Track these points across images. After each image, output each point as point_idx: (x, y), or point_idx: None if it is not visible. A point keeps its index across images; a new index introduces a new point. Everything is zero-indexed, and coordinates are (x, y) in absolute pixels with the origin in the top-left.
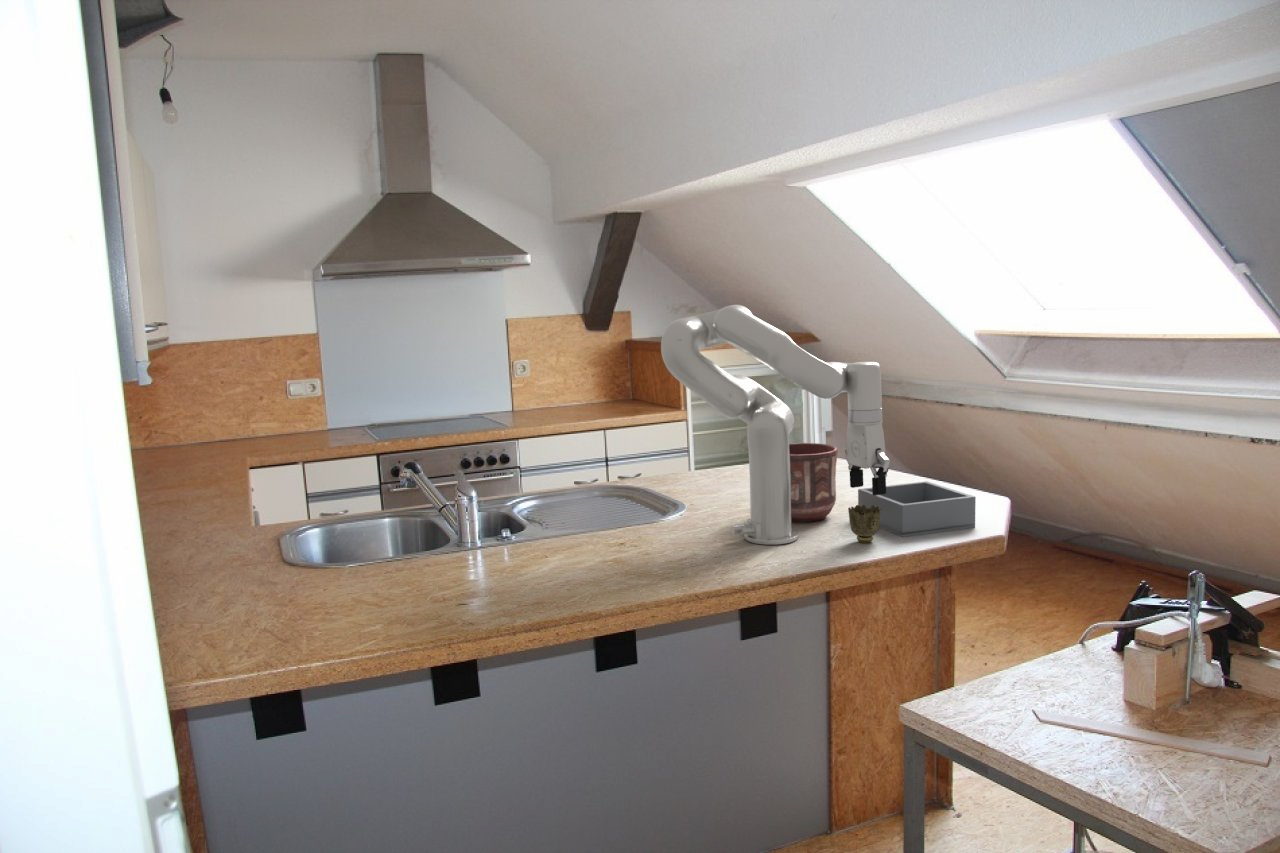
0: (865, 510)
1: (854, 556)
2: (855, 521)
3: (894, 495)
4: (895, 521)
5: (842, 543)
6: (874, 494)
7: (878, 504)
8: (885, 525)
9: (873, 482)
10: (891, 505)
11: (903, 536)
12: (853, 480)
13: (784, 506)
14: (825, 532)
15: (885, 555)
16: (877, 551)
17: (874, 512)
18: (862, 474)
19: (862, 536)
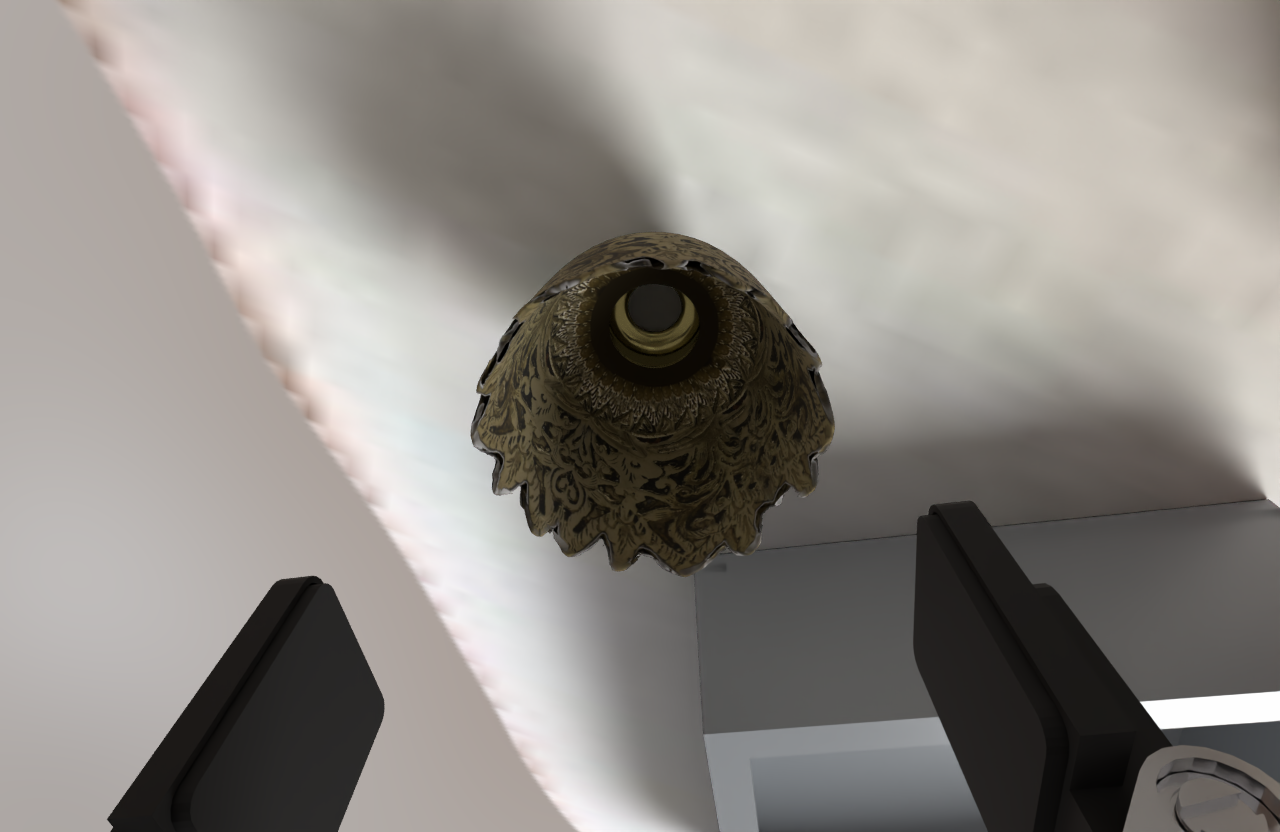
0: (785, 465)
1: (267, 67)
2: (570, 265)
3: None
4: (784, 608)
5: (668, 119)
6: (282, 588)
7: None
8: (901, 555)
9: (171, 738)
10: (864, 691)
11: None
12: (963, 609)
13: None
14: (1061, 104)
15: (286, 306)
16: (392, 294)
17: (713, 512)
18: (983, 815)
19: (596, 286)
